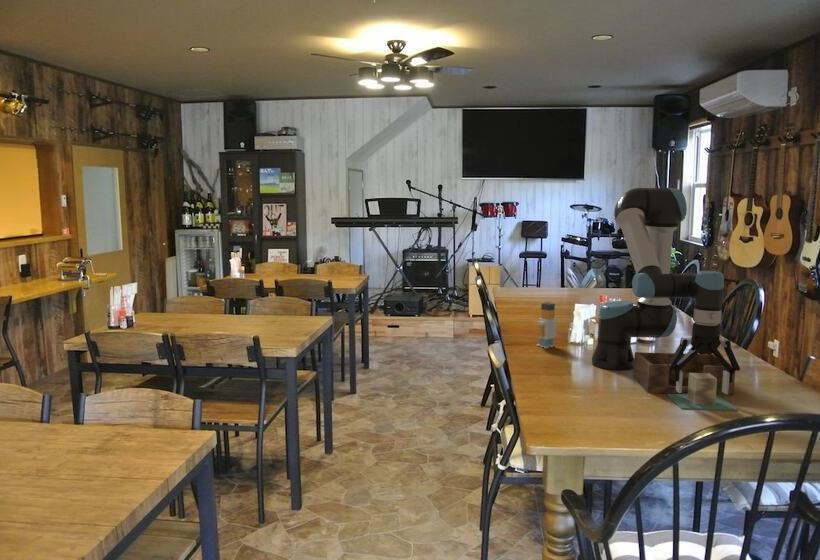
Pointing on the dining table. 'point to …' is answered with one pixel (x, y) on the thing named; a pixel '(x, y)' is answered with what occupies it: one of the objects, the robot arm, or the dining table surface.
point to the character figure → (547, 325)
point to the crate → (656, 372)
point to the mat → (687, 404)
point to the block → (702, 388)
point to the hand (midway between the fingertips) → (701, 392)
